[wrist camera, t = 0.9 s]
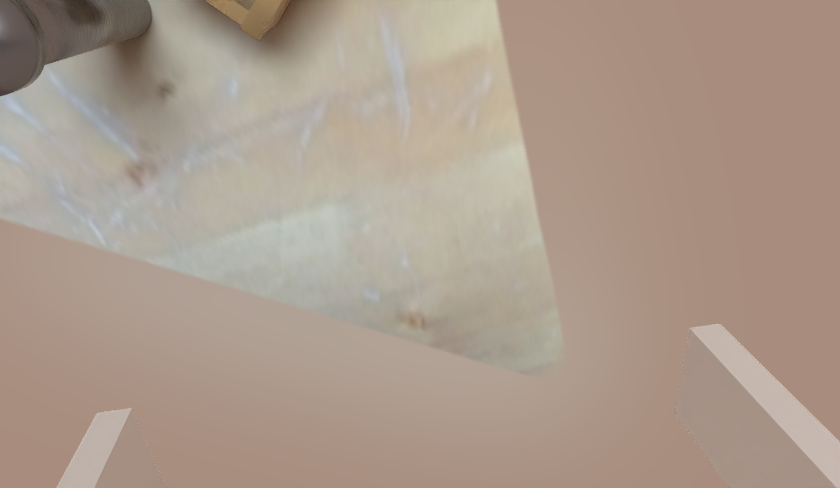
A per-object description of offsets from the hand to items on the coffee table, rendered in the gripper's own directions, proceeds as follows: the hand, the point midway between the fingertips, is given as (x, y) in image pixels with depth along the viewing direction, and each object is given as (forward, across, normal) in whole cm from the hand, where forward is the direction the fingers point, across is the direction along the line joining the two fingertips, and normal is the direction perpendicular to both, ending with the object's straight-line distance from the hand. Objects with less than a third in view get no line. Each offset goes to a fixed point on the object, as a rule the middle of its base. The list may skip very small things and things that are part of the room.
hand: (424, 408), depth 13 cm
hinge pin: (+23, -12, +8) cm, 27 cm away
